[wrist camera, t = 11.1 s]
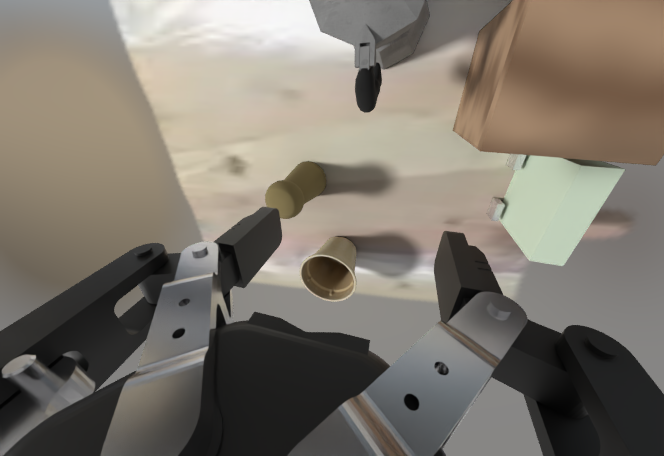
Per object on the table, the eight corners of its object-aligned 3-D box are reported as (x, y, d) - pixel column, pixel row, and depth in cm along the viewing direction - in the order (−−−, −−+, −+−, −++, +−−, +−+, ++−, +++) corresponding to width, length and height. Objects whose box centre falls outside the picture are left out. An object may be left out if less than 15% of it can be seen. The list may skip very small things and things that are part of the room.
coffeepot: (346, -52, 25) (254, -274, 10) (441, -73, 23) (504, -404, 8) (347, 108, 33) (294, 117, 18) (419, 105, 30) (429, 114, 15)
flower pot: (311, 257, 47) (293, 286, 40) (325, 219, 42) (307, 245, 35) (353, 276, 47) (343, 310, 39) (373, 241, 42) (365, 272, 34)
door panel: (526, 144, 29) (581, 165, 20) (562, 146, 28) (638, 170, 19) (496, 216, 34) (529, 260, 25) (526, 220, 33) (572, 267, 24)
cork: (333, 177, 38) (309, 203, 29) (314, 203, 41) (287, 233, 32) (303, 153, 38) (269, 171, 28) (286, 181, 41) (251, 206, 32)
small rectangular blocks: (513, 145, 29) (521, 149, 27) (570, 149, 28) (582, 153, 26) (486, 213, 34) (491, 220, 32) (534, 219, 33) (542, 227, 31)
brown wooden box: (479, 31, 25) (539, -25, 14) (602, 28, 23) (804, -43, 11) (452, 130, 30) (480, 151, 19) (552, 136, 28) (656, 165, 16)
